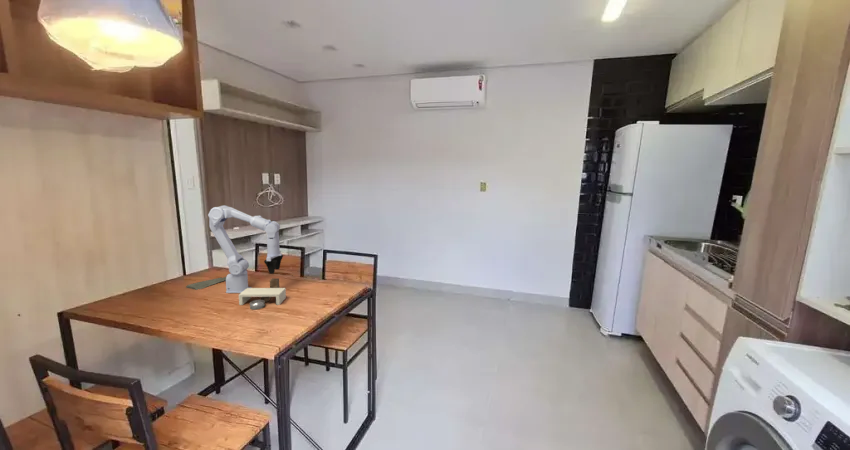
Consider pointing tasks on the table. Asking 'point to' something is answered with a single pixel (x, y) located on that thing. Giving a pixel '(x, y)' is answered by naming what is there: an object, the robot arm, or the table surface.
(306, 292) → the table surface
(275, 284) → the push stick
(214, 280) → the stone slab
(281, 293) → the plinth shelf
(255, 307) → the steel token
